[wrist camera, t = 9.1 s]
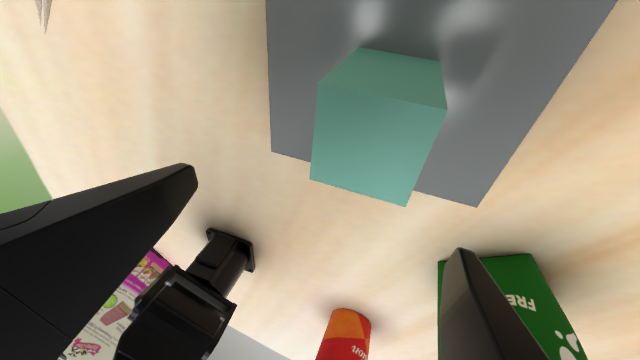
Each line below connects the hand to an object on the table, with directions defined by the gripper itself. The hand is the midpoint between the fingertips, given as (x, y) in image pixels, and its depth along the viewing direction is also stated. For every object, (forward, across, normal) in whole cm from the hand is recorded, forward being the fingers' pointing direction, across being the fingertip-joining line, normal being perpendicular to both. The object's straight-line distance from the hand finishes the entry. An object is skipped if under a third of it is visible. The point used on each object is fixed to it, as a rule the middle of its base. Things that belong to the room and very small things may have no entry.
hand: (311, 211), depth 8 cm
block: (+10, -1, -1) cm, 10 cm away
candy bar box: (+12, +31, +37) cm, 50 cm away
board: (+11, -1, -1) cm, 11 cm away
